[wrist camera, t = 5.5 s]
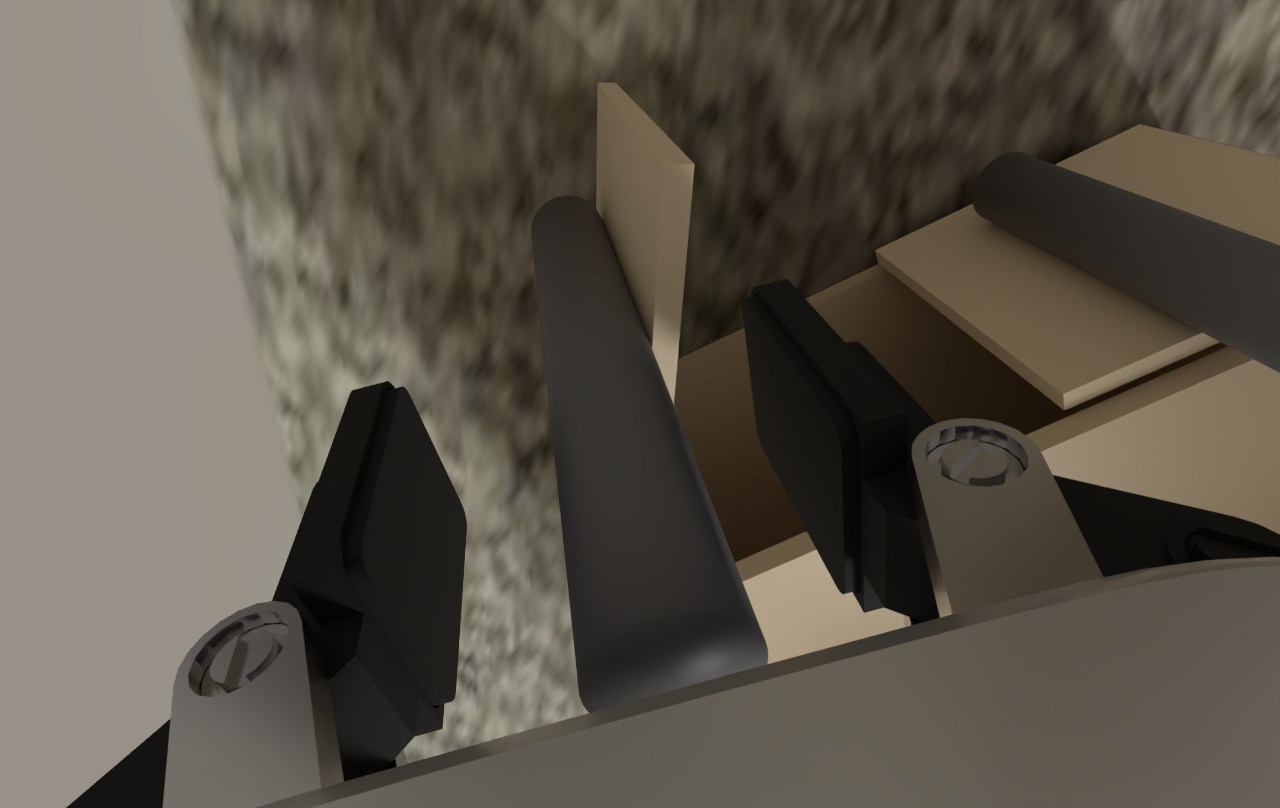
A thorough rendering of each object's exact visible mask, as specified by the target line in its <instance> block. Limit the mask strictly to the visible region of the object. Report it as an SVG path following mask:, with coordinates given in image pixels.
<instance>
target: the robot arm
mask: <svg viewBox="0 0 1280 808" xmlns="http://www.w3.org/2000/svg"><path fill="white" fill-rule="evenodd" d="M742 313H743V321H744V330H745V338H746V346H747V355H748V363H749V372H750V380H751V389H752V397H753V405H754V414H755V422H756V430H757V434H758V438H759V441H760V444H761V447H762V449H763V451H764V453H765V454H766V456H767V458H768V460H769V462H770V464H771V466H772V467H773V469H774V471H775V473H776V475H777V477H778V479H779V481H780V482H781V484H782V486H783V488H784V490H785V492H786V494H787V495H788V497H789V499H790V501H791V503H792V505H793V507H794V508H795V510H796V512H797V514H798V516H799V518H800V520H801V522H802V523H803V525H804V527H805V529H806V531H807V533H808V535H809V536H810V538H811V540H812V542H813V544H814V546H815V548H816V549H817V551H818V553H819V555H820V557H821V559H822V561H823V562H824V564H825V566H826V568H827V570H828V572H829V574H830V576H831V577H832V579H833V581H834V583H835V585H836V587H837V588H838V590H839V591H840V592H841V594H847V593H850V592H853V594H854V596H855V598H856V599H857V601H858V603H859V605H860V607H861V608H862V610H863V612H864V613H866V612H870V611H873V610H877V609H881V608H886V609H889V610H892V611H894V612H897V613H900V614H903V615H904V624H905V627H904V628H900V629H896V630H893V631H889V632H885V633H881V634H878V635H874V636H870V637H867V638H863V639H859V640H856V641H852V642H848V643H844V644H841V645H837V646H833V647H830V648H826V649H822V650H818V651H815V652H811V653H807V654H804V655H800V656H796V657H793V658H789V659H785V660H781V661H778V662H774V663H770V664H767V665H763V666H759V667H756V668H752V669H748V670H745V671H741V672H737V673H734V674H730V675H726V676H723V677H719V678H715V679H712V680H708V681H704V682H701V683H697V684H694V685H690V686H686V687H683V688H679V689H675V690H672V691H668V692H664V693H661V694H657V695H654V696H650V697H646V698H643V699H639V700H635V701H632V702H628V703H624V704H621V705H617V706H614V707H610V708H606V709H603V710H599V711H595V712H592V713H588V714H585V715H581V716H577V717H574V718H570V719H567V720H563V721H559V722H556V723H552V724H548V725H545V726H541V727H538V728H534V729H530V730H527V731H523V732H520V733H516V734H512V735H509V736H505V737H502V738H498V739H494V740H491V741H487V742H484V743H480V744H477V745H473V746H470V747H466V748H462V749H459V750H455V751H452V752H448V753H445V754H441V755H438V756H434V757H430V758H427V759H423V760H420V761H416V762H413V763H409V764H408V762H407V757H406V755H405V753H404V751H403V749H404V748H405V747H406V746H407V744H408V743H409V742H410V741H411V740H412V739H413V738H414V736H418V735H422V734H425V733H429V732H432V731H436V730H440V729H442V728H443V715H444V703H448V702H452V701H453V700H454V698H455V694H456V682H457V667H458V652H459V637H460V622H461V607H462V592H463V577H464V562H465V547H466V532H467V522H466V516H465V512H464V509H463V506H462V504H461V502H460V499H459V497H458V495H457V493H456V491H455V489H454V487H453V485H452V483H451V481H450V478H449V476H448V474H447V472H446V470H445V468H444V466H443V464H442V462H441V460H440V457H439V455H438V453H437V451H436V449H435V447H434V445H433V443H432V441H431V439H430V436H429V434H428V432H427V430H426V428H425V426H424V424H423V422H422V420H421V418H420V415H419V413H418V411H417V409H416V407H415V405H414V403H413V401H412V399H411V397H410V395H409V393H408V391H407V390H406V388H404V387H399V388H395V387H394V386H393V385H392V384H391V383H390V382H388V381H387V382H383V383H379V384H375V385H371V386H367V387H363V388H360V389H356V390H352V392H351V393H350V396H349V398H348V401H347V404H346V407H345V409H344V412H343V415H342V418H341V421H340V423H339V426H338V429H337V432H336V434H335V437H334V440H333V443H332V446H331V448H330V451H329V454H328V457H327V459H326V462H325V465H324V468H323V470H322V473H321V476H320V479H319V482H317V483H316V485H315V487H314V488H313V490H312V493H311V496H310V499H309V501H308V504H307V507H306V510H305V512H304V515H303V518H302V520H301V523H300V526H299V529H298V531H297V534H296V537H295V540H294V543H293V545H292V548H291V551H290V553H289V556H288V559H287V561H286V564H285V567H284V570H283V572H282V575H281V578H280V581H279V583H278V586H277V589H276V591H275V594H274V597H273V600H272V601H270V602H265V603H258V604H255V605H252V606H250V607H247V608H244V609H242V610H239V611H237V612H236V613H234V614H232V615H231V616H229V617H227V618H225V619H224V620H222V621H220V622H219V623H218V624H217V625H215V626H214V627H213V628H212V629H211V630H209V631H208V632H207V633H206V634H204V635H203V636H202V637H201V638H200V639H199V641H198V642H197V643H196V644H195V645H194V646H193V647H192V648H191V649H190V651H189V652H188V653H187V655H186V657H185V658H184V660H183V662H182V663H181V665H180V667H179V668H178V671H177V675H176V679H175V682H174V687H173V698H172V709H171V719H170V720H168V721H167V722H166V723H165V724H164V725H163V726H162V727H160V728H159V729H158V730H157V731H156V732H154V733H153V734H152V735H151V736H150V737H149V738H147V739H146V740H145V741H144V742H143V743H142V744H140V745H139V746H138V747H137V748H136V749H135V750H133V751H132V752H131V753H130V754H129V755H128V756H126V757H125V758H124V759H123V760H122V761H121V762H119V763H118V764H117V765H116V766H115V767H113V768H112V769H111V770H110V771H109V772H108V773H106V774H105V775H104V776H103V777H102V778H101V779H99V780H98V781H97V782H96V783H95V784H94V785H92V786H91V787H90V788H89V789H88V790H86V792H84V793H83V794H82V795H81V796H80V797H78V798H77V799H76V800H75V801H74V802H72V803H71V804H70V805H69V806H68V807H67V808H1280V534H1278V533H1276V532H1274V531H1272V530H1270V529H1268V528H1266V527H1264V526H1262V525H1259V524H1257V523H1253V522H1250V521H1247V520H1244V519H1241V518H1237V517H1234V516H1230V515H1226V514H1222V513H1217V512H1213V511H1208V510H1204V509H1200V508H1195V507H1191V506H1187V505H1182V504H1178V503H1173V502H1169V501H1165V500H1160V499H1156V498H1152V497H1147V496H1143V495H1138V494H1134V493H1130V492H1125V491H1121V490H1117V489H1112V488H1108V487H1103V486H1099V485H1095V484H1090V483H1086V482H1082V481H1077V480H1073V479H1068V478H1064V477H1060V476H1055V475H1052V473H1051V471H1050V469H1049V467H1048V465H1047V463H1046V461H1045V459H1044V457H1043V455H1042V453H1041V451H1040V450H1039V448H1038V447H1037V446H1036V444H1035V443H1034V442H1033V441H1032V440H1031V439H1030V438H1028V437H1027V436H1026V435H1024V434H1023V433H1021V432H1020V431H1018V430H1016V429H1014V428H1011V427H1009V426H1007V425H1004V424H1002V423H998V422H993V421H988V420H984V419H967V418H960V419H954V420H947V421H942V422H940V423H936V422H935V421H934V420H933V419H932V417H931V416H930V415H929V414H928V413H927V412H926V411H925V410H924V409H923V408H922V407H921V406H920V405H919V404H918V403H917V402H916V401H915V400H914V399H913V397H912V396H911V395H910V394H909V393H908V392H907V391H906V390H905V389H904V388H903V387H902V386H901V385H900V384H899V383H898V382H897V381H896V380H895V379H894V377H893V376H892V375H891V374H890V373H889V372H888V371H887V370H886V369H885V368H884V367H883V366H882V365H881V364H880V363H879V362H878V361H877V360H876V358H875V357H874V356H873V355H872V354H871V353H870V352H869V351H868V350H867V349H866V348H865V347H864V346H863V345H862V344H860V343H859V342H858V341H851V342H847V343H845V342H844V341H843V339H842V338H841V337H840V336H839V335H838V334H837V333H836V332H835V331H834V330H833V328H832V327H831V326H830V325H829V324H828V323H827V322H826V321H825V320H824V319H823V317H822V316H821V315H820V314H819V313H818V312H817V311H816V310H815V309H814V308H813V306H812V305H811V304H810V303H809V302H808V301H807V300H806V299H805V298H804V297H803V295H802V294H801V293H800V292H799V291H798V290H797V289H796V288H795V287H794V286H793V284H792V283H791V282H790V281H789V280H787V279H784V280H780V281H776V282H772V283H768V284H765V285H761V286H757V287H753V289H752V294H751V297H749V298H745V299H743V300H742Z"/></svg>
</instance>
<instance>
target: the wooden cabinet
mask: <svg viewBox="0 0 1280 808" xmlns="http://www.w3.org/2000/svg"><path fill="white" fill-rule="evenodd" d="M1162 130H1164V129H1162ZM1166 131H1168V130H1166ZM1170 132H1172V131H1170ZM1174 133H1176V132H1174ZM1178 134H1181V133H1178ZM1182 135H1185V134H1182ZM1186 136H1189V135H1186ZM1190 137H1193V136H1190ZM1194 138H1197V137H1194ZM1198 139H1201V138H1198ZM1202 140H1205V139H1202ZM1206 141H1209V140H1206ZM1210 142H1213V141H1210ZM1214 143H1217V142H1214ZM1218 144H1221V143H1218ZM1222 145H1225V144H1222ZM1226 146H1229V145H1226ZM1230 147H1233V146H1230ZM1234 148H1237V147H1234ZM1239 149H1242V148H1239ZM1243 150H1246V149H1243ZM1247 151H1250V150H1247ZM1251 152H1254V151H1251ZM1255 153H1258V152H1255ZM1259 154H1262V153H1259ZM1263 155H1266V154H1263ZM1267 156H1270V155H1267ZM1271 157H1274V156H1271ZM1275 158H1278V157H1275ZM1279 159H1280V158H1279ZM806 300H807V301H808V302H809V303H810V304H811V305H812V306H813V308H814V309H815V310H816V311H817V312H818V313H819V314H820V315H821V316H822V317H823V319H824V320H825V321H826V322H827V323H828V324H829V325H830V326H831V327H832V328H833V330H834V331H835V332H836V333H837V334H838V335H839V336H840V337H841V338H842V339H843V341H844V342H845V343H847V342H851V341H858V342H859V343H860V344H862V345H863V346H864V347H865V348H866V349H867V350H868V351H869V352H870V353H871V354H872V355H873V356H874V357H875V358H876V360H877V361H878V362H879V363H880V364H881V365H882V366H883V367H884V368H885V369H886V370H887V371H888V372H889V373H890V374H891V375H892V376H893V377H894V379H895V380H896V381H897V382H898V383H899V384H900V385H901V386H902V387H903V388H904V389H905V390H906V391H907V392H908V393H909V394H910V395H911V396H912V397H913V399H914V400H915V401H916V402H917V403H918V404H919V405H920V406H921V407H922V408H923V409H924V410H925V411H926V412H927V413H928V414H929V415H930V416H931V417H932V419H933V420H934V421H935V422H936V423H940V422H942V421H947V420H954V419H960V418H967V419H984V420H988V421H993V422H998V423H1002V424H1004V425H1007V426H1009V427H1011V428H1014V429H1016V430H1018V431H1020V432H1021V433H1023V434H1024V435H1026V436H1027V437H1028V438H1030V439H1031V440H1032V441H1033V442H1034V443H1035V444H1036V446H1037V447H1038V448H1039V450H1040V451H1041V453H1042V455H1043V457H1044V459H1045V461H1046V463H1047V465H1048V467H1049V469H1050V471H1051V473H1052V475H1055V476H1060V477H1064V478H1068V479H1073V480H1077V481H1082V482H1086V483H1090V484H1095V485H1099V486H1103V487H1108V488H1112V489H1117V490H1121V491H1125V492H1130V493H1134V494H1138V495H1143V496H1147V497H1152V498H1156V499H1160V500H1165V501H1169V502H1173V503H1178V504H1182V505H1187V506H1191V507H1195V508H1200V509H1204V510H1208V511H1213V512H1217V513H1222V514H1226V515H1230V516H1234V517H1237V518H1241V519H1244V520H1247V521H1250V522H1253V523H1257V524H1259V525H1262V526H1264V527H1266V528H1268V529H1270V530H1272V531H1274V532H1276V533H1278V534H1280V373H1279V372H1277V371H1275V370H1273V369H1271V368H1269V367H1267V366H1265V365H1263V364H1261V363H1260V362H1258V361H1256V360H1254V359H1252V358H1250V357H1248V356H1246V355H1244V354H1242V353H1240V352H1239V351H1237V350H1235V349H1233V348H1231V347H1229V346H1227V345H1225V344H1223V343H1221V342H1219V343H1217V344H1214V345H1212V346H1210V347H1208V348H1205V349H1203V350H1201V351H1198V352H1196V353H1194V354H1192V355H1189V356H1187V357H1185V358H1183V359H1180V360H1178V361H1176V362H1173V363H1171V364H1169V365H1167V366H1164V367H1162V368H1160V369H1158V370H1155V371H1153V372H1151V373H1148V374H1146V375H1144V376H1142V377H1139V378H1137V379H1135V380H1133V381H1130V382H1128V383H1126V384H1123V385H1121V386H1119V387H1117V388H1114V389H1112V390H1110V391H1108V392H1105V393H1103V394H1101V395H1098V396H1096V397H1094V398H1092V399H1089V400H1087V401H1085V402H1083V403H1080V404H1078V405H1076V406H1073V407H1071V408H1069V409H1067V410H1063V409H1062V408H1061V407H1059V406H1058V405H1057V404H1056V403H1054V402H1053V401H1052V400H1051V399H1049V398H1048V397H1047V396H1045V395H1044V394H1043V393H1042V392H1040V391H1039V390H1038V389H1037V388H1035V387H1034V386H1033V385H1032V384H1030V383H1029V382H1028V381H1027V380H1025V379H1024V378H1023V377H1021V376H1020V375H1019V374H1018V373H1016V372H1015V371H1014V370H1013V369H1011V368H1010V367H1009V366H1008V365H1006V364H1005V363H1004V362H1003V361H1001V360H1000V359H999V358H997V357H996V356H995V355H994V354H992V353H991V352H990V351H989V350H987V349H986V348H985V347H984V346H982V345H981V344H980V343H978V342H977V341H976V340H975V339H973V338H972V337H971V336H970V335H968V334H967V333H966V332H965V331H963V330H962V329H961V328H960V327H958V326H957V325H956V324H954V323H953V322H952V321H951V320H949V319H948V318H947V317H946V316H944V315H943V314H942V313H941V312H939V311H938V310H937V309H935V308H934V307H933V306H932V305H930V304H929V303H928V302H927V301H925V300H924V299H923V298H922V297H920V296H919V295H918V294H917V293H915V292H914V291H913V290H911V289H910V288H909V287H908V286H906V285H905V284H904V283H903V282H901V281H900V280H899V279H898V278H896V277H895V276H894V275H893V274H891V273H890V272H889V271H887V270H886V269H885V268H884V267H882V266H881V265H880V264H877V265H875V266H873V267H871V268H869V269H867V270H865V271H862V272H860V273H858V274H856V275H854V276H852V277H850V278H848V279H846V280H844V281H841V282H839V283H837V284H835V285H833V286H831V287H829V288H827V289H825V290H822V291H820V292H818V293H816V294H814V295H812V296H810V297H808V298H806ZM674 406H675V409H676V412H677V414H678V417H679V419H680V422H681V425H682V427H683V430H684V432H685V435H686V437H687V440H688V443H689V445H690V448H691V450H692V453H693V455H694V458H695V461H696V463H697V466H698V468H699V471H700V474H701V476H702V479H703V481H704V484H705V486H706V489H707V492H708V494H709V497H710V499H711V502H712V504H713V507H714V510H715V512H716V515H717V517H718V520H719V522H720V525H721V528H722V530H723V533H724V535H725V538H726V541H727V543H728V546H729V548H730V551H731V553H732V556H733V559H734V561H735V564H736V566H737V569H738V571H739V574H740V577H741V579H742V582H743V584H744V587H745V590H746V592H747V595H748V597H749V600H750V602H751V605H752V608H753V610H754V613H755V615H756V618H757V620H758V623H759V626H760V628H761V631H762V633H763V636H764V638H765V641H766V644H767V648H768V663H767V664H770V663H774V662H778V661H781V660H785V659H789V658H793V657H796V656H800V655H804V654H807V653H811V652H815V651H818V650H822V649H826V648H830V647H833V646H837V645H841V644H844V643H848V642H852V641H856V640H859V639H863V638H867V637H870V636H874V635H878V634H881V633H885V632H889V631H893V630H896V629H900V628H904V627H905V624H904V615H903V614H900V613H897V612H894V611H892V610H889V609H886V608H881V609H877V610H873V611H870V612H866V613H864V612H863V610H862V608H861V607H860V605H859V603H858V601H857V599H856V598H855V596H854V594H853V592H850V593H847V594H841V592H840V591H839V590H838V588H837V587H836V585H835V583H834V581H833V579H832V577H831V576H830V574H829V572H828V570H827V568H826V566H825V564H824V562H823V561H822V559H821V557H820V555H819V553H818V551H817V549H816V548H815V546H814V544H813V542H812V540H811V538H810V536H809V535H808V533H807V531H806V529H805V527H804V525H803V523H802V522H801V520H800V518H799V516H798V514H797V512H796V510H795V508H794V507H793V505H792V503H791V501H790V499H789V497H788V495H787V494H786V492H785V490H784V488H783V486H782V484H781V482H780V481H779V479H778V477H777V475H776V473H775V471H774V469H773V467H772V466H771V464H770V462H769V460H768V458H767V456H766V454H765V453H764V451H763V449H762V447H761V444H760V441H759V438H758V434H757V430H756V422H755V414H754V405H753V397H752V389H751V380H750V372H749V363H748V355H747V346H746V338H745V330H744V328H742V329H740V330H738V331H736V332H734V333H732V334H730V335H728V336H725V337H723V338H721V339H719V340H717V341H715V342H713V343H711V344H709V345H706V346H704V347H702V348H700V349H698V350H696V351H694V352H692V353H690V354H687V355H685V356H683V357H681V358H679V359H678V362H677V373H676V385H675V396H674Z"/></svg>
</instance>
